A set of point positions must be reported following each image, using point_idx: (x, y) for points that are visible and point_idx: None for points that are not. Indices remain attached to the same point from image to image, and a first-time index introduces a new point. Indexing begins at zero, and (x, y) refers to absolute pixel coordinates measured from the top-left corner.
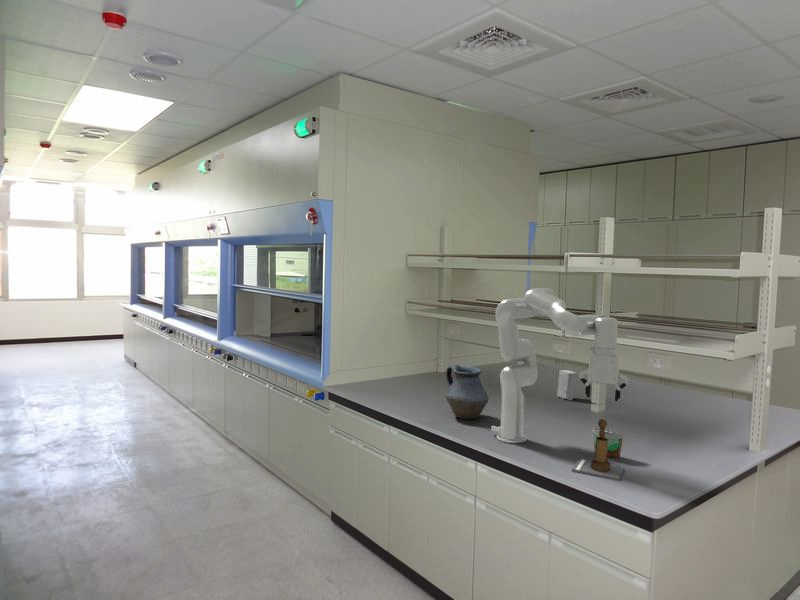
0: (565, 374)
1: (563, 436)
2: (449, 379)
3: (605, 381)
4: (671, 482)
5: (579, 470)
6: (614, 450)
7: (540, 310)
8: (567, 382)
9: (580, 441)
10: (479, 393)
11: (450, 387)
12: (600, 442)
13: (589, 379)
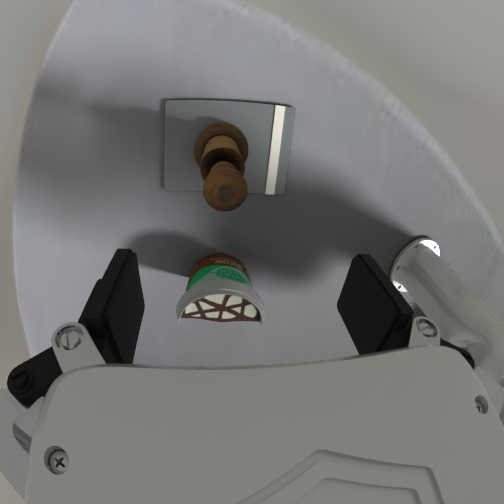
0: None
1: (316, 330)
2: None
3: (237, 402)
4: (62, 169)
5: (274, 105)
6: (198, 270)
7: None
8: None
9: (282, 322)
10: (465, 349)
11: None
12: (225, 145)
13: (461, 357)
